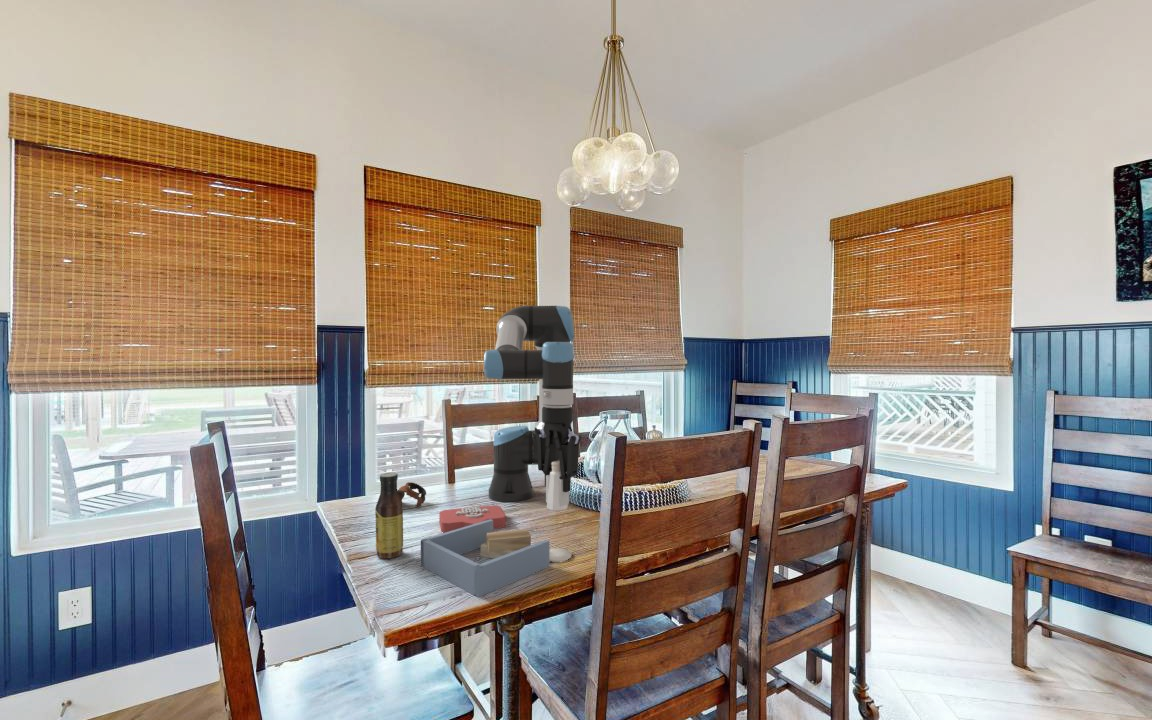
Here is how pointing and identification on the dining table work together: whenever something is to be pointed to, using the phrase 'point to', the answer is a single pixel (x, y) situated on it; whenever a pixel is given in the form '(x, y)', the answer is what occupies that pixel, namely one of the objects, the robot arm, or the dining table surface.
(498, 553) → the birch offcut
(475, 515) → the plaque
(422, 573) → the dining table surface
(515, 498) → the robot arm
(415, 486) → the coiled leather belt
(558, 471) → the pepper shaker
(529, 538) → the oak offcut
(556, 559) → the stone coaster
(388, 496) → the sauce bottle
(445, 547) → the tray
